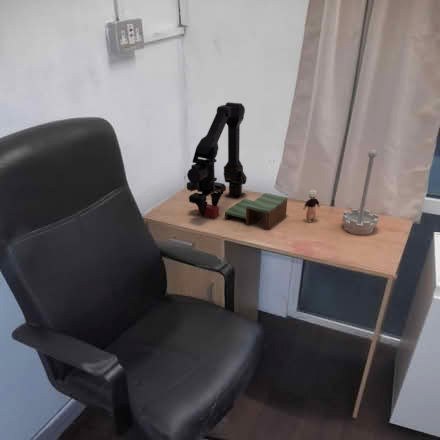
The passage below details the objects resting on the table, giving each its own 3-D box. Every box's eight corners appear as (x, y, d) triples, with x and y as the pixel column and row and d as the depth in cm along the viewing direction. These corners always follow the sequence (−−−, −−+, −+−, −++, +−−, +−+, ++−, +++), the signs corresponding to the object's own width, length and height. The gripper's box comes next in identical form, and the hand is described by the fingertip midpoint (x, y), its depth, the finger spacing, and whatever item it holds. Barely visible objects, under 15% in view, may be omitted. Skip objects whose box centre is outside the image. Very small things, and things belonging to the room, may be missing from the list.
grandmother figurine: (312, 216, 172) (316, 186, 165) (319, 219, 169) (323, 189, 162) (299, 221, 168) (302, 190, 161) (306, 224, 166) (309, 193, 159)
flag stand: (375, 237, 156) (393, 156, 139) (340, 233, 159) (353, 153, 142) (375, 223, 166) (392, 146, 149) (342, 219, 169) (354, 143, 152)
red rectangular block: (203, 211, 178) (202, 202, 175) (218, 215, 174) (218, 206, 172) (198, 214, 175) (197, 205, 173) (214, 218, 171) (213, 209, 169)
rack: (244, 206, 182) (244, 188, 177) (286, 216, 173) (287, 197, 168) (224, 219, 171) (224, 200, 166) (268, 230, 162) (269, 211, 157)
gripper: (204, 166, 175) (205, 201, 184) (176, 179, 162) (179, 216, 171) (226, 170, 170) (226, 206, 179) (200, 184, 157) (201, 222, 166)
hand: (208, 212), depth 174 cm, fingers open, 8 cm apart
